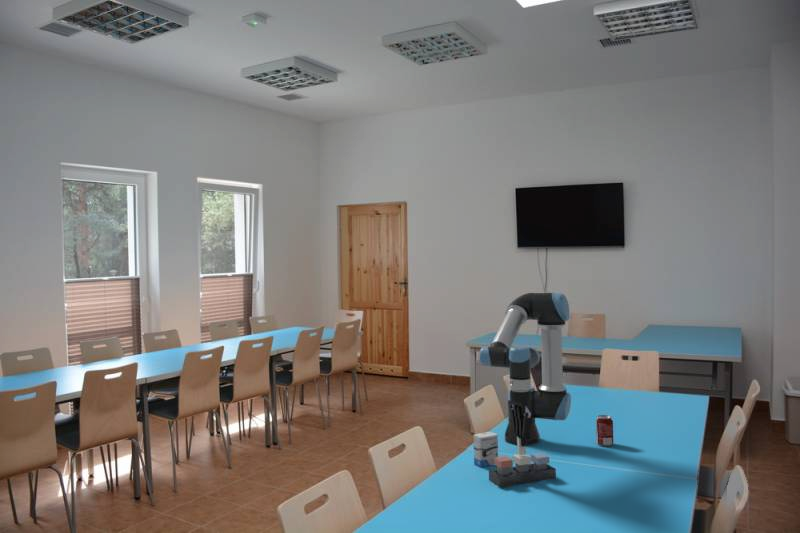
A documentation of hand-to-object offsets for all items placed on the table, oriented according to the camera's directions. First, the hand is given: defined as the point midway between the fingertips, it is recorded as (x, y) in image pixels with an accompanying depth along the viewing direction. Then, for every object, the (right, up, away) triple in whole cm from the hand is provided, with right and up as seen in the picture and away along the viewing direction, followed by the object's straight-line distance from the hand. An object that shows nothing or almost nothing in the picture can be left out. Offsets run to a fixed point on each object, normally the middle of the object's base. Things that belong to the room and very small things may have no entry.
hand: (521, 454), depth 224 cm
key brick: (-7, -6, -2) cm, 9 cm away
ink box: (-10, -9, +18) cm, 22 cm away
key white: (0, -6, 0) cm, 6 cm away
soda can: (+43, -7, +37) cm, 57 cm away
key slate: (+7, -7, +3) cm, 10 cm away
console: (0, -9, 0) cm, 9 cm away
